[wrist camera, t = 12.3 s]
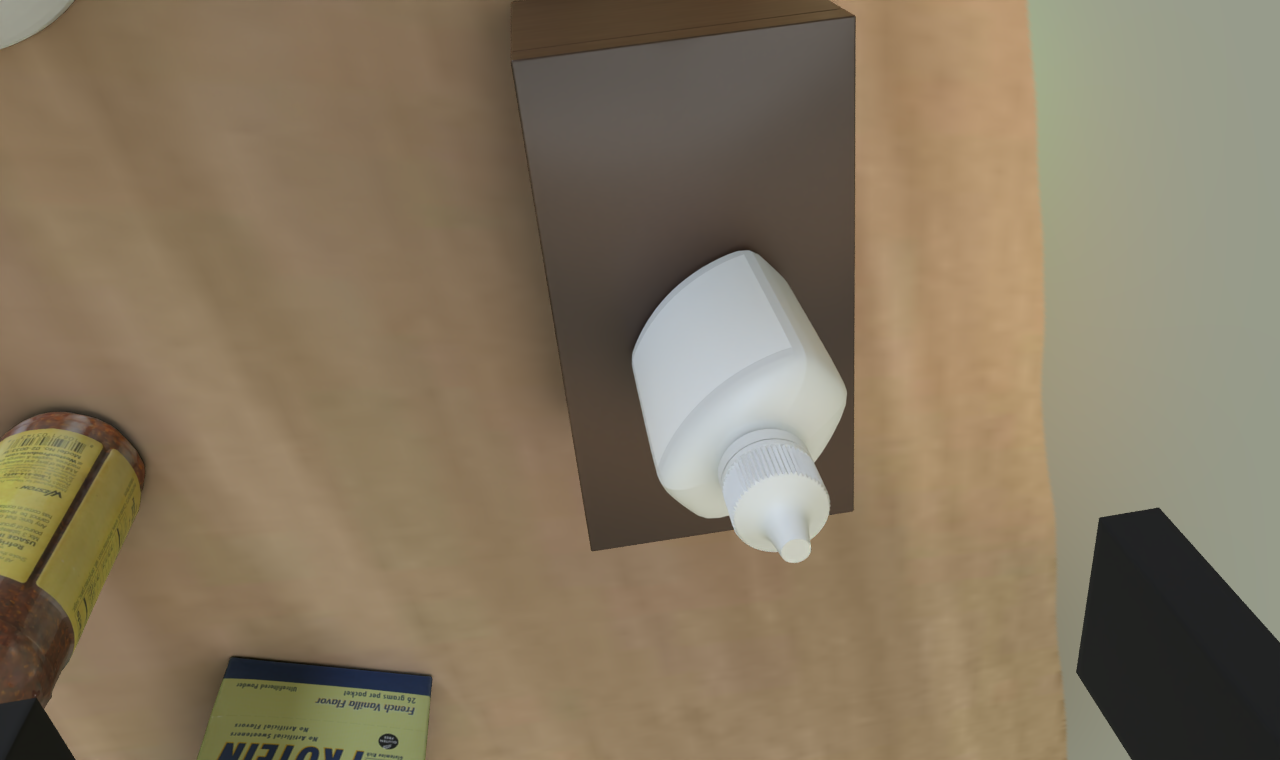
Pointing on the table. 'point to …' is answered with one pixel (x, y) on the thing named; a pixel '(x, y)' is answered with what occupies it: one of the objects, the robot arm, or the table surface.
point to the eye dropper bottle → (740, 402)
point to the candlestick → (27, 18)
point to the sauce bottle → (58, 539)
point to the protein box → (316, 714)
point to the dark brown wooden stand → (682, 203)
